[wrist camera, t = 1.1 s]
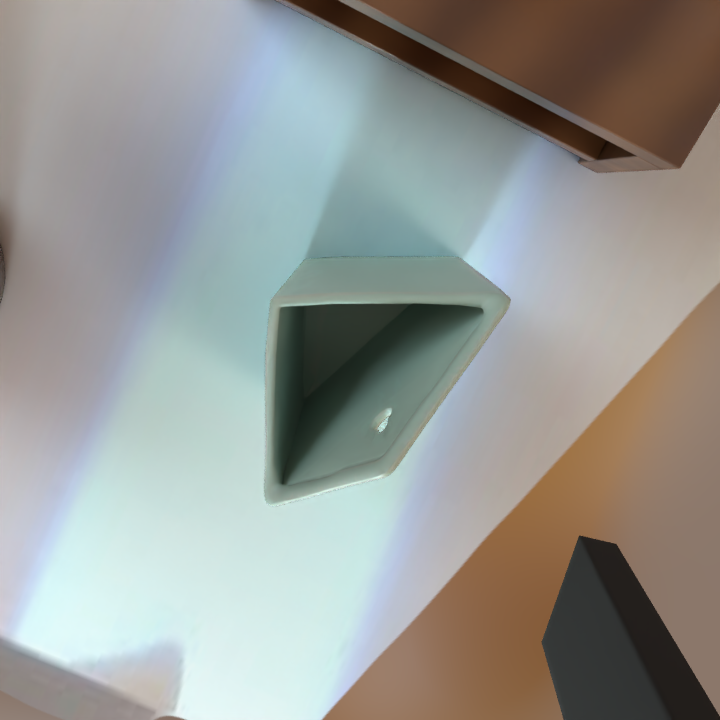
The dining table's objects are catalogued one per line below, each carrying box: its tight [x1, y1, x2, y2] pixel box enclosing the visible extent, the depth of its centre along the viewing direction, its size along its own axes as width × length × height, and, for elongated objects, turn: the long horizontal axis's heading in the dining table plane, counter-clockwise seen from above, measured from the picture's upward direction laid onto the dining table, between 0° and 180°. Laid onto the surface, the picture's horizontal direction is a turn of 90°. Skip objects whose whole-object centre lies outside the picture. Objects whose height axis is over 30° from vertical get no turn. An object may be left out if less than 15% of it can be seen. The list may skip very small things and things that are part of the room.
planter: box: [264, 256, 511, 507], centre depth 30 cm, size 16×8×20 cm, turn 133°
